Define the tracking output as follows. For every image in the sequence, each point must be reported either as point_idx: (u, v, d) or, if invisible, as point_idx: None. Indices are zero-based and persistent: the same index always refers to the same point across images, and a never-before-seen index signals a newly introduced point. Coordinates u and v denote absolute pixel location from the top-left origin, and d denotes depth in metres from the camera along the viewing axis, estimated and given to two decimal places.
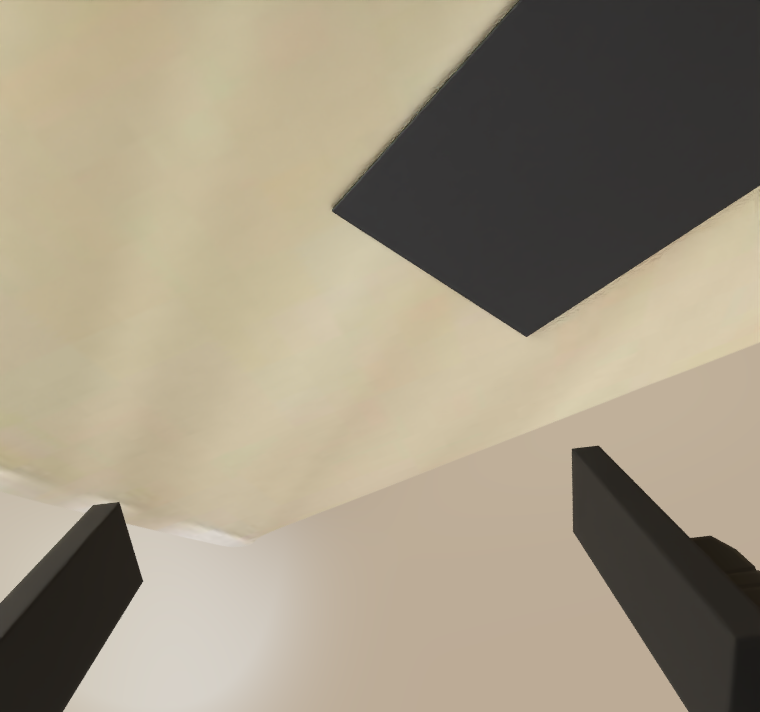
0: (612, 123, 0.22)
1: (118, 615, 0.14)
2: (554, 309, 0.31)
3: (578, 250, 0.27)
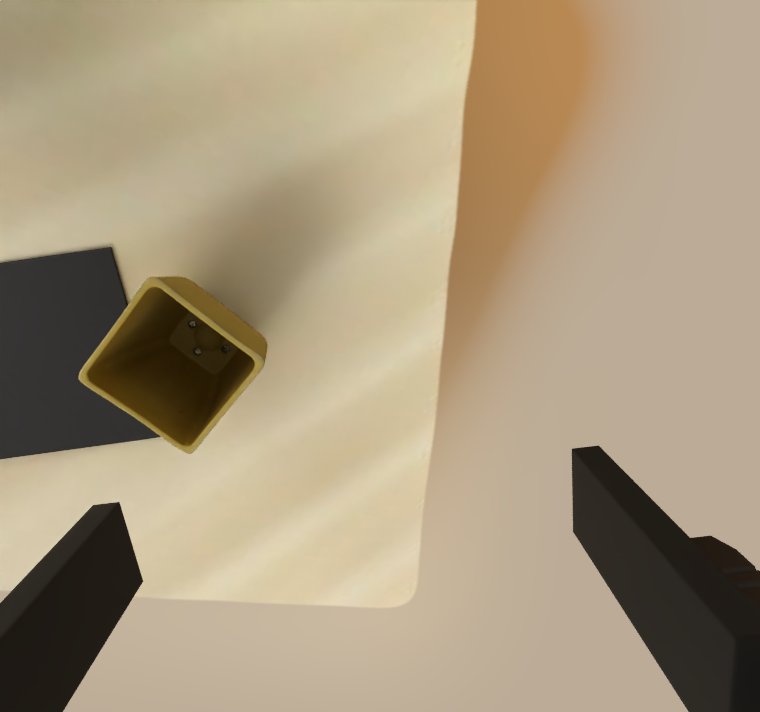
0: (26, 349, 0.40)
1: (118, 615, 0.14)
2: None
3: None
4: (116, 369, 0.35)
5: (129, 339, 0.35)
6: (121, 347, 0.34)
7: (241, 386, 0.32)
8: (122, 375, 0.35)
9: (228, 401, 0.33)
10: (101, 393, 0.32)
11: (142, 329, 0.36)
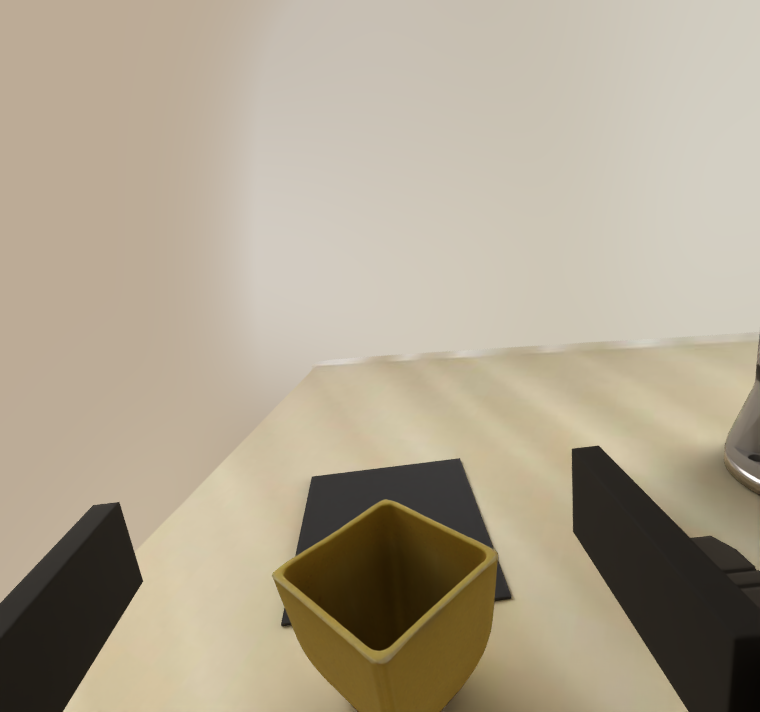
0: None
1: (118, 615, 0.14)
2: (316, 488, 0.51)
3: (344, 504, 0.48)
4: (384, 547, 0.32)
5: (415, 564, 0.31)
6: (408, 554, 0.31)
7: (347, 631, 0.22)
8: (377, 549, 0.31)
9: (329, 616, 0.23)
10: (366, 512, 0.31)
11: (424, 584, 0.31)
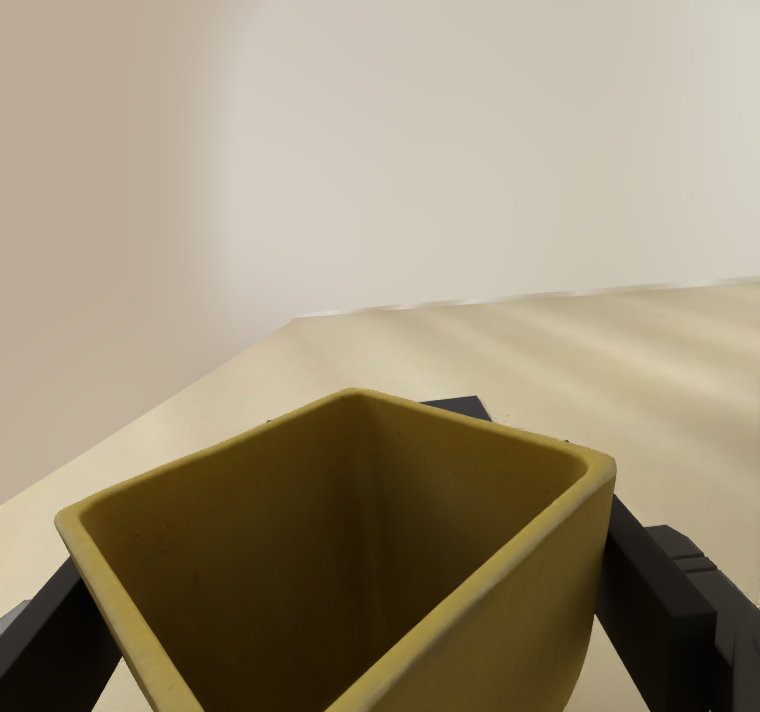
0: None
1: None
2: None
3: None
4: (348, 481, 0.16)
5: (409, 512, 0.15)
6: (394, 493, 0.15)
7: (168, 670, 0.07)
8: (332, 485, 0.16)
9: (137, 616, 0.08)
10: (310, 405, 0.15)
11: (427, 553, 0.15)
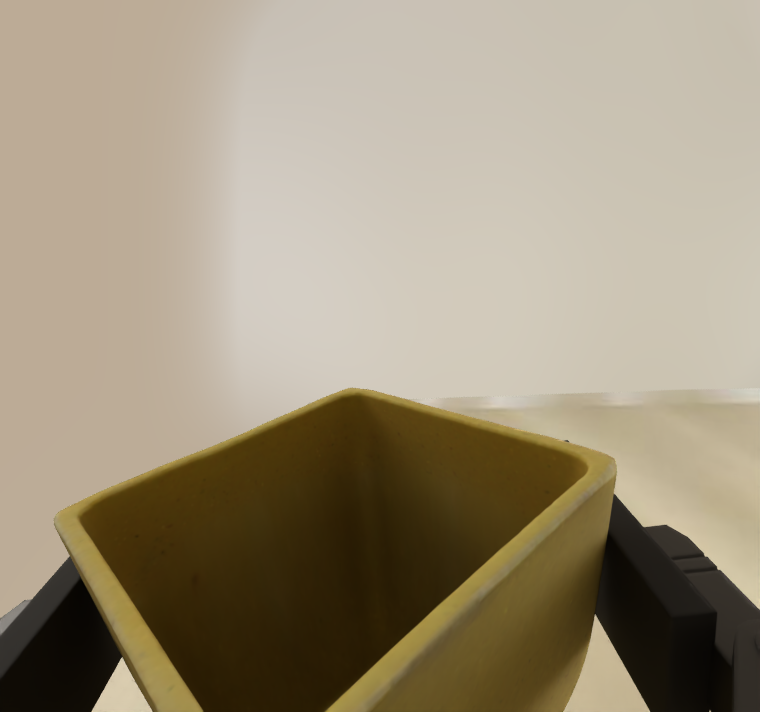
0: None
1: None
2: None
3: None
4: (348, 482, 0.16)
5: (409, 512, 0.15)
6: (394, 493, 0.15)
7: (168, 671, 0.07)
8: (332, 485, 0.16)
9: (136, 616, 0.08)
10: (310, 405, 0.15)
11: (427, 554, 0.15)
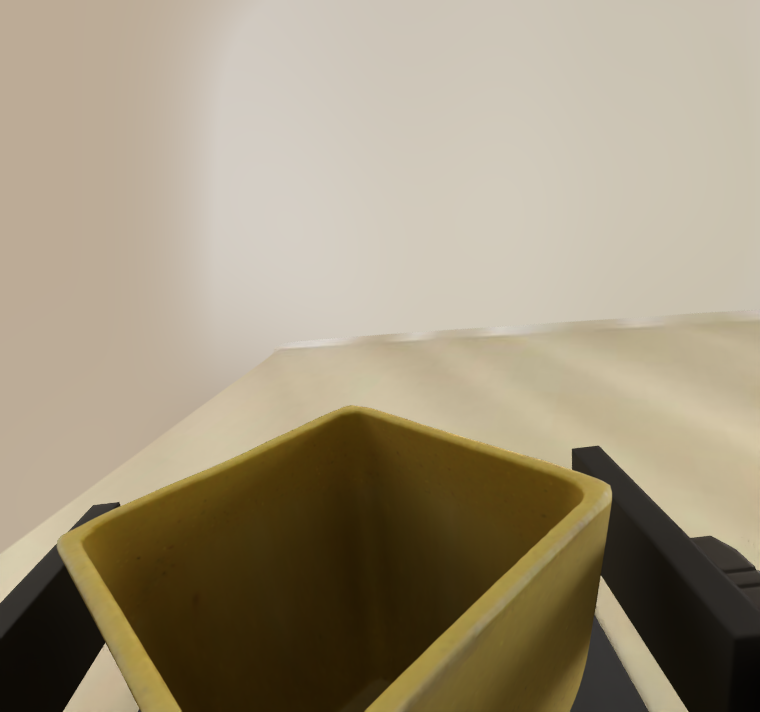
0: None
1: None
2: None
3: None
4: (347, 498, 0.16)
5: (408, 530, 0.15)
6: (393, 510, 0.16)
7: (170, 707, 0.07)
8: (331, 502, 0.16)
9: (139, 649, 0.08)
10: (309, 424, 0.15)
11: (426, 571, 0.15)
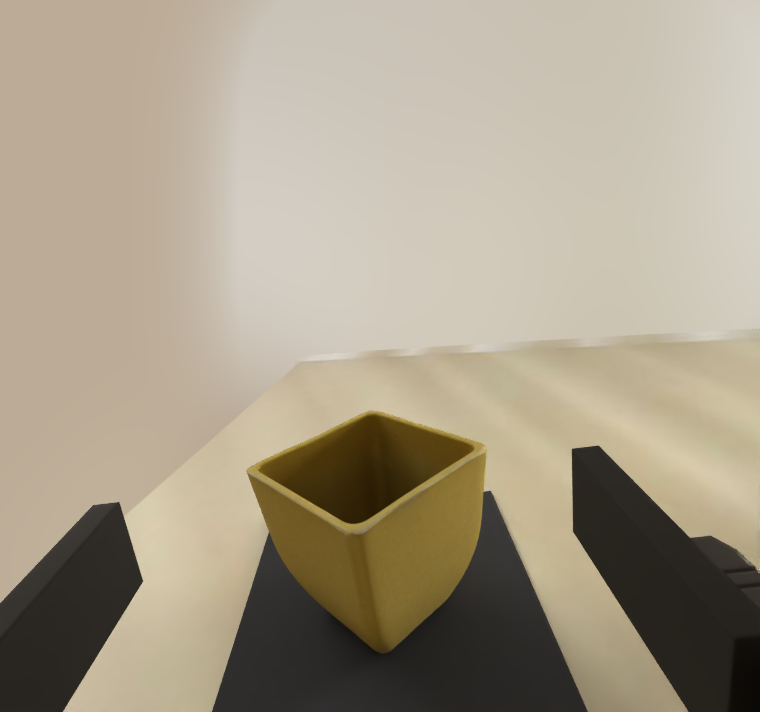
0: None
1: (118, 615, 0.14)
2: None
3: None
4: (369, 460, 0.30)
5: (401, 476, 0.29)
6: (393, 466, 0.30)
7: (322, 510, 0.21)
8: (361, 462, 0.30)
9: (303, 499, 0.22)
10: (350, 420, 0.29)
11: None
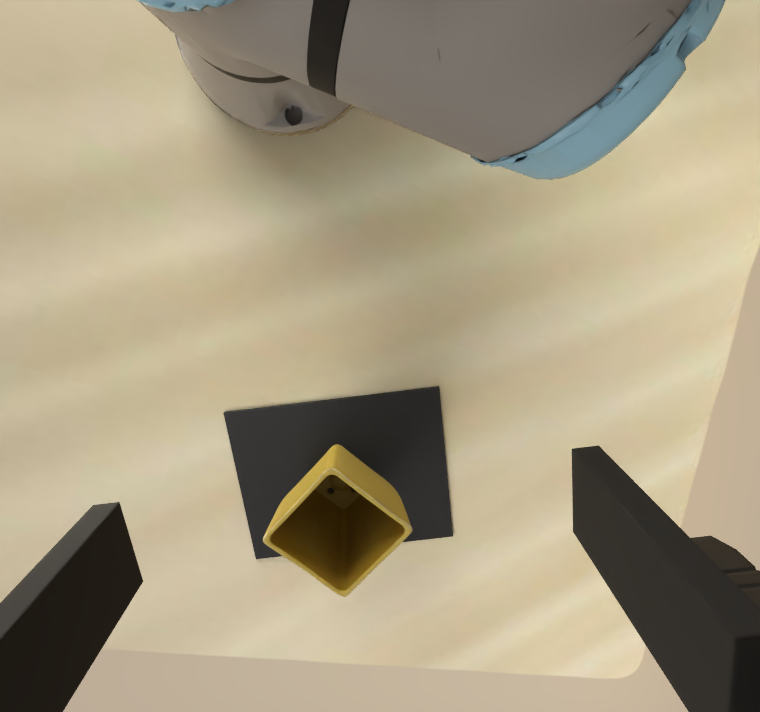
0: None
1: (118, 615, 0.14)
2: None
3: None
4: (281, 522, 0.42)
5: None
6: None
7: (392, 547, 0.40)
8: (286, 528, 0.42)
9: (380, 558, 0.40)
10: (279, 551, 0.40)
11: None
